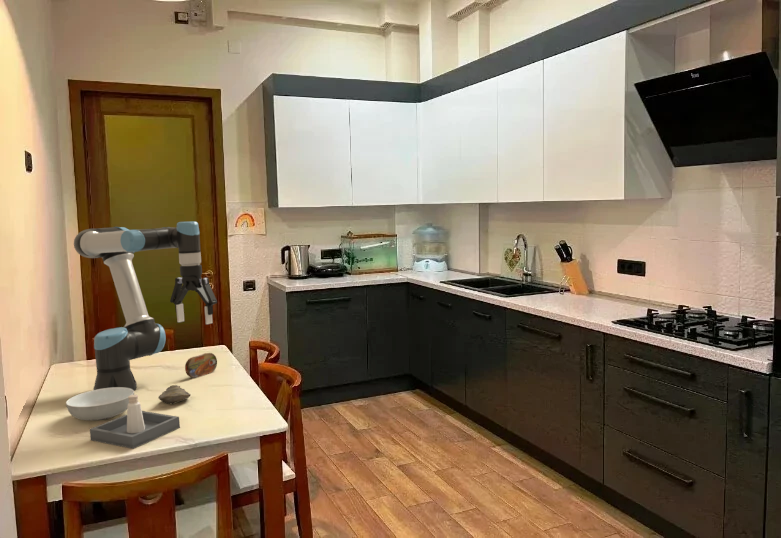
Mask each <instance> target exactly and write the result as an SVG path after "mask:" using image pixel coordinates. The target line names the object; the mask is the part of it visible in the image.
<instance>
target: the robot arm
mask: <svg viewBox="0 0 781 538" xmlns="http://www.w3.org/2000/svg"><path fill="white" fill-rule="evenodd" d="M199 227H200V226H199V223H198V222H197V221H179V222H177V223H176V227H172V226H171V227H170V226H165V227H157V228H141V229H128V228H127V227H124V226H121V227H120V226H113V227H102V228H101V227H100V228H99V227H98V228H88V229H83V230H82V231H80V232H78V233H77V234H76V236H75V237H74V239H73V246H74V247H73V248H74V249H75V251H76V253H77V254H78V255H80V256H82V257H83V258H88V259H100V258H101V259H102V261H103V264H104V265H106V266H107V267H108V268H109V271H110V273H111V277H112V280H113V282H114V283H113V284H114V287H115V290H116V293H117V296H118V300H119V302H120V305H121V306H120V307H121V309H122V313H123V316H124V319H125V324H124V326H123V327H122V326H121V327H120V326H119V327H114V328H108V329H105V330H103V331H100V332H98V333H97V334H95V336H94V338H93V340H94V341H93V343H94V344H93V349H94V353H95V354H94V356H95V366H96V376H95V381H94V386H93V388H92V390H97V389H103V388H113V387H124V388H130V389H132V390H134V391H135V390H137V388H138V386H137V380H136V379H135V376H134V374H133V371H132V369H131V363H130V361H132V360H136V359H140V358H144V357H149V356H150V357H151V356H152V355H156V354H159V353H161V352H162V350H163V349H164V347H165V344H166V340H167V339H166V331H165V328H164V327H163V326H162V325H161V324H159V323H156V322H155V318H154V317H151V316H150V315H149V313H148V309H147V306H146V302H145V299H144V296H143V293H142V290H141V287H140V284H139V279H138V277H137V274H136V271H135V268H134V265H133V259H134V257H135V255H134V254H135V253H137V252H144V251H151V250H152V251H153V250H155V251H156V250H163V249H178V262H179V264H180V266H179V274H180V276H181V277H179V276H178V277H175V279H174V287H173V289H172V294H171V296H170V303H173V304H174V307H175V308H174V309H175V313H176V319H177V320H176V321H177V323H183V322H185V313H184V312H185V310H184V309H185V308H184V303H183V300H184V299H185V297H186V295H187V293H188V292H189V291H195V292H196V293H197V294H198V295H199V297H200V298H201V299H202V301H203V303H204V304H205V306H204V318H205V325H210V324H213V314H214V305H215V304H218V300H217V298H216V296H215V293H214V291H213V289H212V287H211V285H210V280H209V278H208V277H203V278H202V274H203V268H202V267H203V266H202V256H201V255H202V254H201V253H202V252H201V238H200V236H201V235H200V233H201V232H200V228H199Z"/></svg>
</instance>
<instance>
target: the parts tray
mask: <svg viewBox="0 0 781 538" xmlns="http://www.w3.org/2000/svg"><path fill="white" fill-rule="evenodd" d="M142 415H143V420H144V425H145V430H143V431H141V432H139V433H132V434H131V433H127V414H125V415H121V416H119V417H117V418H114V419H112V420H109V421H107V422H104V423H102V424H99V425H96V426H94V427H91V428H89V435H90V436H89V438H90V441H93V442H98V443H101V444H106V445H107V444H108V445H112V446H118V447H122V448H127V449H132V450H134V449H136V448H138V447H141V446H143V445H145V444H147V443H149V442H151V441H154V440H156V439H158V438H160V437H162V436H165V435H167V434H169V433H172V432H173V431H175V430H177V429H180V428H181V425H180V416H177V415H169V414H164V413H159V412H158V413H157V412H151V411H145V410H142Z"/></svg>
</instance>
